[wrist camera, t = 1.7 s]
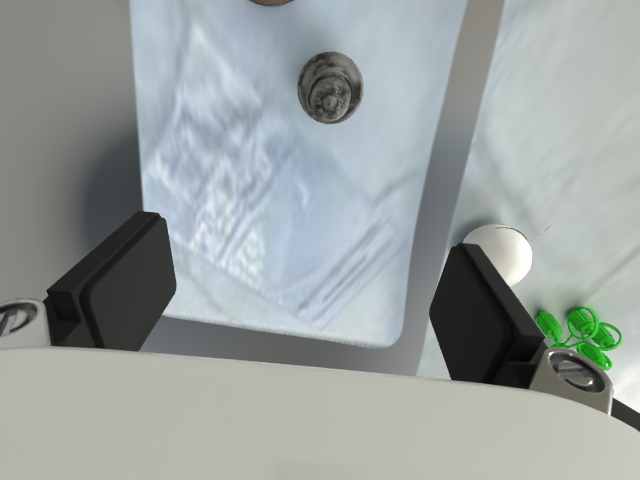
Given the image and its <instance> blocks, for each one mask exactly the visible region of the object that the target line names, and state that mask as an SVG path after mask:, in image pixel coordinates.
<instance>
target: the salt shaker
mask: <svg viewBox="0 0 640 480" xmlns="http://www.w3.org/2000/svg"><path fill="white" fill-rule="evenodd" d="M363 86H364V84H363V79H362V75H361V73H360V71H359V69H358V67H357V65H356V64H355V63H354V62H353V61H352V60H351V59H350V58H348V57H347V56H345V55H343V54H340V53H337V52H325V53H322V54H318V55H316V56H315V57H313V58H312V59H310V60H309V61H308V63H307V64H306V65H305V66H304V67H303V69H302V71H301V74H300V76H299V80H298V97H299V100H300V104H301V105H302V107H303V109H304V111H305V112H306V113H307V114H308V115H309V116H310V117H311V118H313V119H314V120H316V121H318V122H321V123H325V124H335V123H339V122H342V121H344V120H346V119H348V118H349V117H350V116H351V115H352V114H353V113H354V112H355V111H356V110H357V108H358V106H359V105H360V103H361V100H362V96H363Z"/></svg>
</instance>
